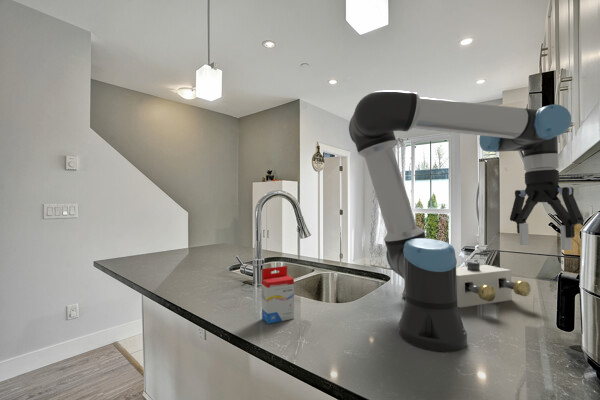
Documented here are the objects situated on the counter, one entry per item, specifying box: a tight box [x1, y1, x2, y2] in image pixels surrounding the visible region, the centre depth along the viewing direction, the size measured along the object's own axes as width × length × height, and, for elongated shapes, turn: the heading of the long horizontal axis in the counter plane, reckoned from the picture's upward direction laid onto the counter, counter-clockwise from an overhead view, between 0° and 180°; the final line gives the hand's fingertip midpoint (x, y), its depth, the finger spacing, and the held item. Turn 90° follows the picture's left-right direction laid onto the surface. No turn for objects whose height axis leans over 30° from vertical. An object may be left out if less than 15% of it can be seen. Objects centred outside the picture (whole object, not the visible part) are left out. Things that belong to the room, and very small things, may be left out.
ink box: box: [261, 265, 295, 325], centre depth 81 cm, size 8×5×15 cm, turn 117°
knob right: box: [499, 279, 532, 297], centre depth 89 cm, size 4×9×4 cm, turn 16°
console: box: [456, 264, 513, 309], centre depth 94 cm, size 22×9×10 cm, turn 106°
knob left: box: [465, 283, 496, 302], centre depth 85 cm, size 4×9×4 cm, turn 16°
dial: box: [466, 261, 481, 271], centre depth 94 cm, size 4×4×3 cm
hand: (544, 247), depth 80 cm, fingers open, 10 cm apart
